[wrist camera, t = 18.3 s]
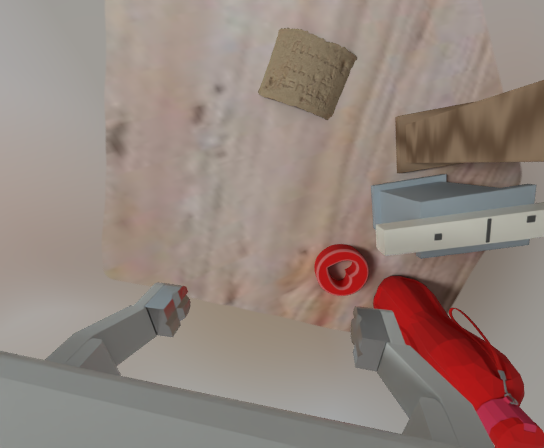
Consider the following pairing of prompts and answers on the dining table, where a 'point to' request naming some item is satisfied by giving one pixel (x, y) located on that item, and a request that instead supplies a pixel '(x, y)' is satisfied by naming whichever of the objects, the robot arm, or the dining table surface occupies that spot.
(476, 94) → the dining table surface
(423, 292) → the water bottle
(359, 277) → the decorative ornament
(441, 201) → the slate stand
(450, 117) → the walnut pedestal
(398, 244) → the domino bar
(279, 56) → the clay tablet
